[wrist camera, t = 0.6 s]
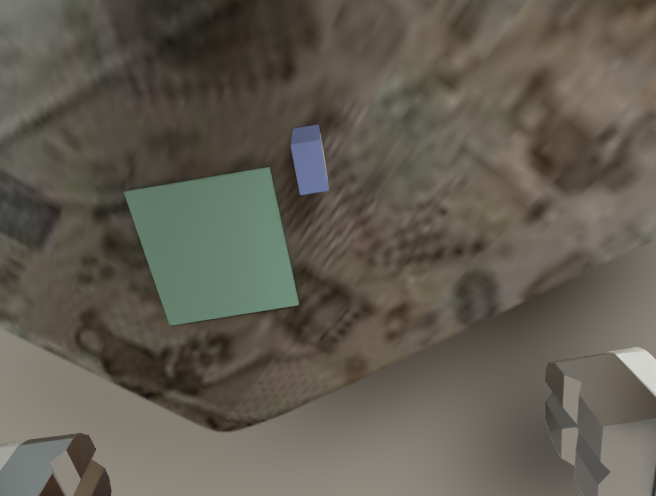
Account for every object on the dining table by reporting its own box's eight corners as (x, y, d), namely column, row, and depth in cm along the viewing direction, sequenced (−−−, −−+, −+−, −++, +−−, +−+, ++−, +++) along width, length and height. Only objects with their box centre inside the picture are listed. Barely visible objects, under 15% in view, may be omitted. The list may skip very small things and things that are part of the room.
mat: (125, 191, 47) (123, 192, 46) (269, 166, 46) (269, 167, 46) (170, 323, 53) (169, 325, 52) (299, 303, 52) (298, 305, 52)
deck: (292, 128, 45) (290, 144, 39) (319, 124, 45) (320, 139, 39) (301, 173, 47) (299, 195, 40) (326, 168, 47) (329, 190, 40)
